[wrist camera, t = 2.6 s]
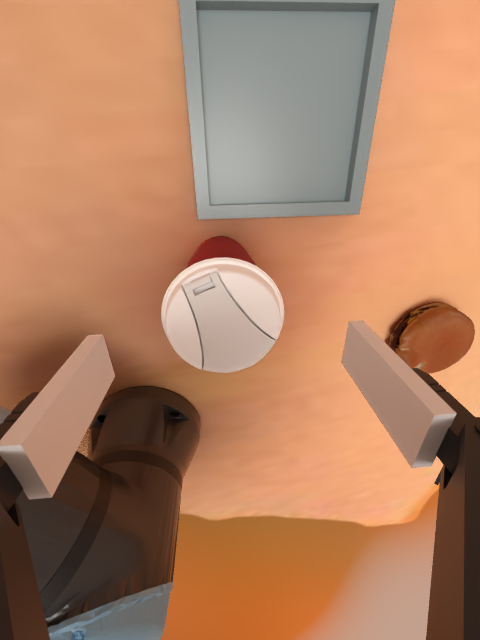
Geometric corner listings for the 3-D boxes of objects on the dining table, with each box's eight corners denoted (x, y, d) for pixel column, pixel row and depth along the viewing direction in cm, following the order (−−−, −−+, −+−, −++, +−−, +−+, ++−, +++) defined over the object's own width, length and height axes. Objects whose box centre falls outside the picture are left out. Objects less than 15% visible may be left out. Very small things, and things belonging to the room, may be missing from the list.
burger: (470, 308, 36) (503, 325, 32) (429, 364, 40) (454, 385, 36) (406, 290, 34) (432, 306, 30) (371, 351, 38) (389, 372, 34)
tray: (199, 217, 28) (197, 219, 26) (179, -7, 21) (176, -25, 19) (350, 212, 29) (359, 214, 27) (383, -4, 22) (398, -21, 20)
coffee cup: (169, 244, 29) (129, 298, 16) (240, 211, 28) (262, 239, 15) (204, 308, 33) (196, 397, 19) (268, 282, 32) (305, 355, 18)
